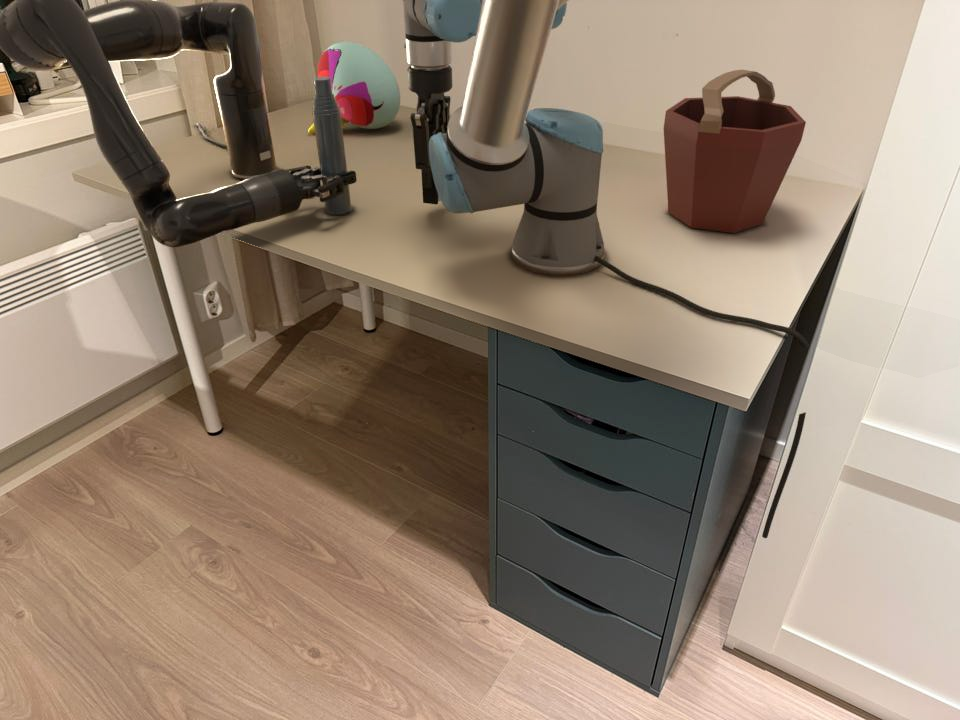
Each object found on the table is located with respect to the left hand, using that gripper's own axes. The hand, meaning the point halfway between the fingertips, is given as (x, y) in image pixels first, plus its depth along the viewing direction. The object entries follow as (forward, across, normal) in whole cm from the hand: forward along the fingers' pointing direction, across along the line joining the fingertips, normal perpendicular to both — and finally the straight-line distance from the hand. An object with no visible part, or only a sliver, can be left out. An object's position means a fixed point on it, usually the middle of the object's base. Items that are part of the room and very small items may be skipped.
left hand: (345, 172), depth 133 cm
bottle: (-3, 0, +7) cm, 7 cm away
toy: (+33, +42, +7) cm, 53 cm away
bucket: (+44, -53, +7) cm, 69 cm away
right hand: (+9, -15, +4) cm, 18 cm away
